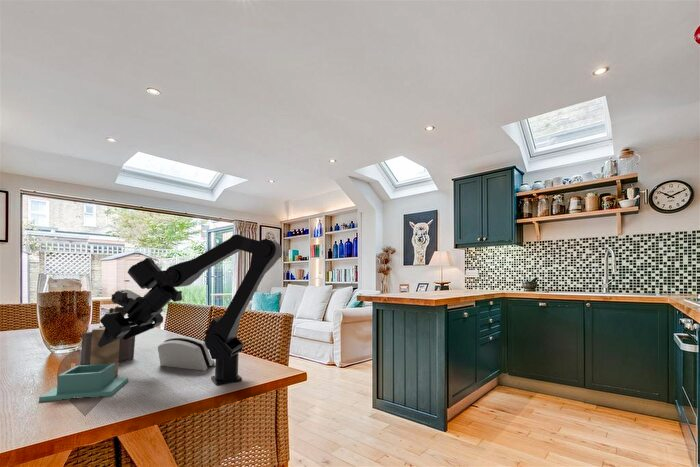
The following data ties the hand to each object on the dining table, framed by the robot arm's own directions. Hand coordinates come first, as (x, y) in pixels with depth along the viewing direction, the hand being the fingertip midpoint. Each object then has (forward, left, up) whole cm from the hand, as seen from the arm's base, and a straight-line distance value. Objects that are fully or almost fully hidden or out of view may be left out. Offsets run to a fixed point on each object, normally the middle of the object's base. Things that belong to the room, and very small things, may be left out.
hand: (112, 342), depth 96 cm
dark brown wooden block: (+19, -1, -10) cm, 21 cm away
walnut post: (+1, +1, -9) cm, 9 cm away
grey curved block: (+1, -18, -10) cm, 21 cm away
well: (-9, +4, -9) cm, 14 cm away
